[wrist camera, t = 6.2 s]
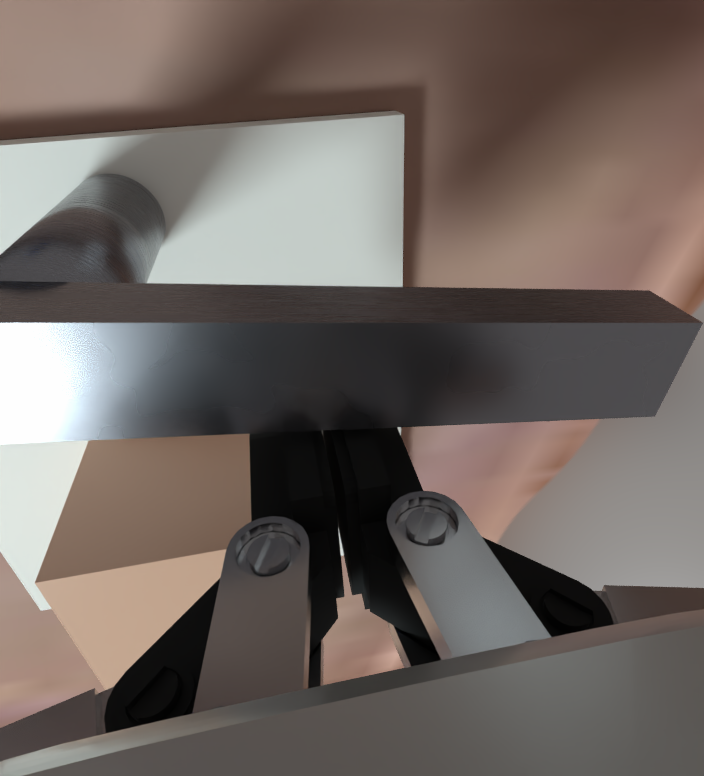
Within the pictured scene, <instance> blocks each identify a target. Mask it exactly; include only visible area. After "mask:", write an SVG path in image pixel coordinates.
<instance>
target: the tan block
mask: <svg viewBox="0 0 704 776" xmlns="http://www.w3.org/2000/svg"><path fill="white" fill-rule="evenodd" d="M249 435H250V434H228V435H205V436H181V437H158V438H134V439H111V440H89V441H88V444H87V446H86V449H85V452H84V454H83V457H82V460H81V462H80V465H79V467H78V470H77V473H76V475H75V478H74V481H73V483H72V486H71V489H70V491H69V494H68V496H67V499H66V502H65V504H64V507H63V510H62V512H61V515H60V518H59V520H58V523H57V525H56V528H55V531H54V533H53V536H52V539H51V541H50V544H49V547H48V549H47V552H46V554H45V557H44V560H43V562H42V565H41V568H40V570H39V573H38V576H37V578H36V581H35V584H36V586H37V587H38V589H39V590H40V592H41V593H42V595H43V596H44V598H45V599H46V601H47V602H48V604H49V605H50V607H51V608H52V610H53V611H54V613H55V614H56V616H57V617H58V619H59V621H60V622H61V624H62V625H63V627H64V628H65V630H66V631H67V633H68V634H69V636H70V637H71V639H72V640H73V642H74V643H75V645H76V646H77V648H78V649H79V651H80V652H81V654H82V655H83V657H84V658H85V660H86V661H87V663H88V664H89V666H90V667H91V669H92V670H93V672H94V673H95V675H96V676H97V678H98V679H99V681H100V682H101V684H102V685H103V687H104V689H105V690H107V689H110V688H112V687H114V686H115V684H116V683H117V682H118V681H119V679H120V678H121V677H122V676H123V675H124V673H125V672H126V671H127V670H128V669H129V668H130V667H131V666H132V665H133V664H134V663H135V662H136V661H137V660H138V659H139V658H140V657H141V656H142V655H143V654H144V653H145V652H146V651H147V650H148V649H149V648H150V647H151V646H152V645H153V644H154V643H155V642H156V641H157V640H158V639H159V638H160V637H161V636H162V635H163V634H164V633H165V632H166V631H167V630H168V629H169V628H170V627H171V626H172V625H173V624H174V623H175V622H176V621H177V620H178V619H179V618H180V617H181V616H182V615H183V614H184V613H185V612H186V611H187V610H188V609H189V608H190V607H191V606H192V605H193V604H194V603H195V602H196V601H197V600H198V599H199V598H200V597H201V596H202V595H203V594H204V593H205V592H206V591H207V590H208V589H209V588H210V587H211V586H212V585H213V584H214V583H215V582H216V581H217V580H218V579H219V578H220V577H221V573H222V568H223V563H224V558H225V553H226V550H227V547H228V545H229V542H230V540H231V539H232V537H233V536H234V535H235V534H236V532H237V531H238V530H239V529H241V528H242V527H243V526H245V525H246V524H248V523H250V522H251V486H250V445H249Z"/></svg>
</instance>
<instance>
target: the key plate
mask: <svg viewBox="0 0 704 776" xmlns="http://www.w3.org/2000/svg"><path fill="white" fill-rule="evenodd" d="M99 174H119V175H123V176H126V177H129V178H131V179H133V180H135V181H137V182H139V183H140V184H142V185H143V186H144V187H145V188H147V189H148V190H149V191H150V192H151V193H152V194H153V196H154V197H155V198H156V199H157V201H158V203H159V204H160V206H161V208H162V211H163V214H164V217H165V225H166V230H165V236H164V240H163V242H162V245H161V247H160V250H159V253H158V255H157V258H156V260H155V263H154V265H153V268H152V271H151V273H150V276H149V278H148V281H147V283H168V284H236V285H303V286H371V287H403V196H404V114H402V113H400V112H397V111H383V112H370V113H357V114H343V115H330V116H317V117H304V118H290V119H277V120H264V121H251V122H237V123H224V124H211V125H198V126H184V127H171V128H158V129H145V130H131V131H118V132H105V133H92V134H78V135H65V136H52V137H39V138H25V139H12V140H0V255H1V254H2V253H3V252H4V251H5V250H6V249H7V248H8V247H10V246H11V245H12V244H13V243H14V242H15V241H16V240H17V239H19V238H20V237H21V236H22V235H23V234H24V233H25V232H27V231H28V230H29V229H30V228H31V227H32V226H33V225H34V224H36V223H37V222H38V221H39V220H40V219H41V218H42V217H43V216H45V215H46V214H47V213H48V212H49V211H50V210H51V209H53V208H54V207H55V206H56V205H57V204H58V203H59V202H60V201H62V200H63V199H64V198H65V197H66V196H67V195H68V194H70V193H71V192H72V191H73V190H74V189H75V188H76V187H77V186H79V185H80V184H81V183H82V182H83V181H85V180H86V179H88V178H90V177H92V176H95V175H99ZM397 428H398V431H399V433H400V435H401V427H397ZM322 434H323V431H322ZM88 441H89V440H87V441H64V442H40V443H17V444H0V552H1V553H2V555H3V556H4V557H5V559H6V560H7V562H8V563H9V565H10V566H11V568H12V569H13V571H14V572H15V574H16V575H17V576H18V578H19V579H20V581H21V582H22V584H23V585H24V587H25V588H26V590H27V591H28V592H29V594H30V595H31V597H32V598H33V600H34V601H35V603H36V604H37V606H38V607H39V609H40V610H41V611H42V610H48V609H52V608H51V607H50V605H49V604H48V602H47V601H46V599H45V598H44V596H43V595H42V593H41V592H40V590H39V589H38V587H37V586H36V584H35V581H36V578H37V576H38V573H39V570H40V568H41V565H42V562H43V560H44V557H45V554H46V552H47V549H48V547H49V544H50V541H51V539H52V536H53V533H54V531H55V528H56V525H57V523H58V520H59V518H60V515H61V512H62V510H63V507H64V504H65V502H66V499H67V496H68V494H69V491H70V489H71V486H72V483H73V481H74V478H75V475H76V473H77V470H78V467H79V465H80V462H81V460H82V457H83V454H84V452H85V449H86V446H87V444H88ZM338 531H339V528H338ZM339 542H340V553H341V556H342V555H344V553H343V548H342V543H341V538H340V533H339Z"/></svg>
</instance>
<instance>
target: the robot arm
mask: <svg viewBox="0 0 704 776" xmlns="http://www.w3.org/2000/svg"><path fill="white" fill-rule="evenodd" d="M322 431H323V434H322ZM322 431H299V432H275V433H252V434H250V435H249V445H250V486H251V522H250V523H248V524H246V525H245V526H243V527H242V528H241V529H239V530H238V531H237V532H236V534H235V535H234V536H233V537H232V539H231V540H230V542H229V545H228V547H227V550H226V553H225V558H224V563H223V568H222V573H221V577H220V578H219V579H218V580H217V581H216V582H215V583H214V584H213V585H212V586H211V587H210V588H209V589H208V590H207V591H206V592H205V593H204V594H203V595H202V596H201V597H200V598H199V599H198V600H197V601H196V602H195V603H194V604H193V605H192V606H191V607H190V608H189V609H188V610H187V611H186V612H185V613H184V614H183V615H182V616H181V617H180V618H179V619H178V620H177V621H176V622H175V623H174V624H173V625H172V626H171V627H170V628H169V629H168V630H167V631H166V632H165V633H164V634H163V635H162V636H161V637H160V638H159V639H158V640H157V641H156V642H155V643H154V644H153V645H152V646H151V647H150V648H149V649H148V650H147V651H146V652H145V653H144V654H143V655H142V656H141V657H140V658H139V659H138V660H137V661H136V662H135V663H134V664H133V665H132V666H131V667H130V668H129V669H128V670H127V671H126V672H125V673H124V675H123V676H122V677H121V678H120V679H119V681H118V682H117V683H116V684H115V686H114V687H112V688H110V689H107V690H105V691H103V692H100V693H98V692H97V691H96V689H95V688H94V689H92V690H89V691H87V692H85V693H82V694H80V695H77V696H75V697H73V698H70V699H68V700H66V701H63V702H61V703H59V704H56V705H54V706H51V707H49V708H47V709H44V710H42V711H40V712H37V713H35V714H33V715H30V716H28V717H26V718H23V719H21V720H18V721H16V722H14V723H11V724H9V725H7V726H4V727H2V728H0V776H704V588H682V587H645V586H609V585H604V587H603V589H602V591H592V589H590V588H589V587H587V586H585V585H584V584H582V583H580V582H579V581H577V580H574V579H572V578H570V577H568V576H566V575H564V574H561V573H559V572H557V571H555V570H553V569H551V568H548V567H546V566H544V565H542V564H540V563H538V562H535V561H533V560H531V559H529V558H527V557H524V556H522V555H520V554H518V553H516V552H514V551H511V550H509V549H507V548H505V547H503V546H501V545H498V544H496V543H494V542H492V541H490V540H487V539H485V538H483V537H481V535H480V534H479V532H478V531H477V529H476V528H475V527H474V525H473V524H472V522H471V521H470V519H469V518H468V516H467V515H466V514H465V512H464V511H463V509H462V508H461V507H460V506H459V505H458V504H457V503H456V502H455V501H454V500H452V499H450V498H449V497H447V496H445V495H442V494H439V493H436V492H429V491H423V489H422V487H421V484H420V482H419V479H418V477H417V474H416V472H415V470H414V467H413V465H412V462H411V460H410V457H409V455H408V452H407V450H406V448H405V445H404V443H403V440H402V438H401V435H400V433H399V431H398V428H397V427H393V428H369V429H346V430H322ZM338 528H339V531H338ZM339 533H340V538H341V543H342V548H343V553H344V558H345V563H346V567H347V572H348V577H349V582H350V587H351V592H352V595H356V594H361V593H362V597H363V601H364V606H365V609H370V612H372V613H374V614H375V615H377V616H379V617H380V618H382V619H384V620H385V621H387V624H388V628H389V632H390V635H391V637H392V640H393V642H394V644H395V647H396V649H397V651H398V654H399V656H400V659H401V661H402V663H403V666H404V668H402V669H398V670H393V671H388V672H383V673H379V674H374V675H369V676H365V677H360V678H355V679H351V680H346V681H341V682H337V683H332V684H327V685H323V666H324V645H323V637H324V636H325V635H326V633H327V632H328V631H329V629H330V628H331V627H332V625H333V624H334V623H335V621H336V620H337V619H338V613H337V603H336V598H340V597H344V587H343V576H342V564H341V553H340V542H339Z"/></svg>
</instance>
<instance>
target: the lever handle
mask: <svg viewBox="0 0 704 776" xmlns="http://www.w3.org/2000/svg"><path fill="white" fill-rule="evenodd" d="M165 230H166V225H165V217H164V214H163V211H162V208H161V206H160V204H159V203H158V201H157V199H156V198H155V197H154V196H153V194H152V193H151V192H150V191H149V190H148V189H147V188H145V187H144V186H143V185H142V184H140V183H139V182H137V181H135V180H133V179H131V178H129V177H126V176H123V175H119V174H99V175H95V176H92V177H90V178H88V179H86V180H85V181H83V182H82V183H81V184H80V185H79V186H77V187H76V188H75V189H74V190H73V191H72V192H71V193H70V194H68V195H67V196H66V197H65V198H64V199H63V200H62V201H60V202H59V203H58V204H57V205H56V206H55V207H54V208H53V209H51V210H50V211H49V212H48V213H47V214H46V215H45V216H43V217H42V218H41V219H40V220H39V221H38V222H37V223H36V224H34V225H33V226H32V227H31V228H30V229H29V230H28V231H27V232H25V233H24V234H23V235H22V236H21V237H20V238H19V239H17V240H16V241H15V242H14V243H13V244H12V245H11V246H10V247H8V248H7V249H6V250H5V251H4V252H3V253H2V254H1V255H0V444H17V443H40V442H64V441H87V440H111V439H134V438H158V437H181V436H205V435H228V434H252V433H275V432H299V431H322V430H346V429H369V428H393V427H416V426H440V425H463V424H487V423H510V422H534V421H557V420H581V419H604V418H628V417H651V416H655V415H656V413H657V411H658V409H659V407H660V405H661V403H662V401H663V399H664V397H665V396H666V393H667V392H668V390H669V388H670V386H671V384H672V382H673V380H674V378H675V376H676V374H677V372H678V370H679V368H680V366H681V364H682V363H683V361H684V359H685V357H686V355H687V353H688V351H689V349H690V347H691V345H692V343H693V341H694V339H695V337H696V335H697V333H698V331H699V330H700V328H701V325H702V324H703V323H702V322H701V321H699V320H697V319H696V318H694V317H692V316H691V315H689V314H687V313H686V312H684V311H682V310H681V309H679V308H677V307H676V306H674V305H672V304H671V303H669V302H668V301H666V300H664V299H663V298H661V297H659V296H658V295H656V294H654V293H653V292H651V291H642V290H574V289H506V288H439V287H371V286H303V285H236V284H168V283H147V281H148V278H149V276H150V273H151V271H152V268H153V265H154V263H155V260H156V258H157V255H158V253H159V250H160V247H161V245H162V242H163V240H164V236H165Z"/></svg>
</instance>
